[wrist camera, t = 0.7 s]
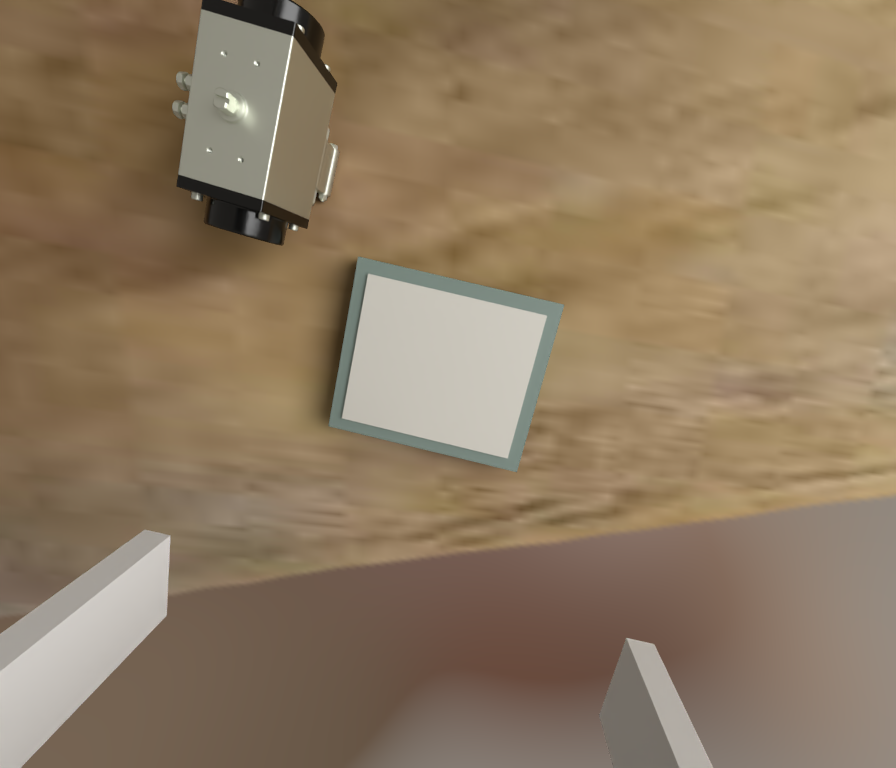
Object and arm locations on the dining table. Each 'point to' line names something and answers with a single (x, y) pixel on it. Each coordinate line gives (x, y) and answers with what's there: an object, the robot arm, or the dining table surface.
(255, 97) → the pneumatic valve
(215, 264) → the dining table surface
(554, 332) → the stand
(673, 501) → the dining table surface
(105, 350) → the dining table surface
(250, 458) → the dining table surface
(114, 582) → the robot arm
